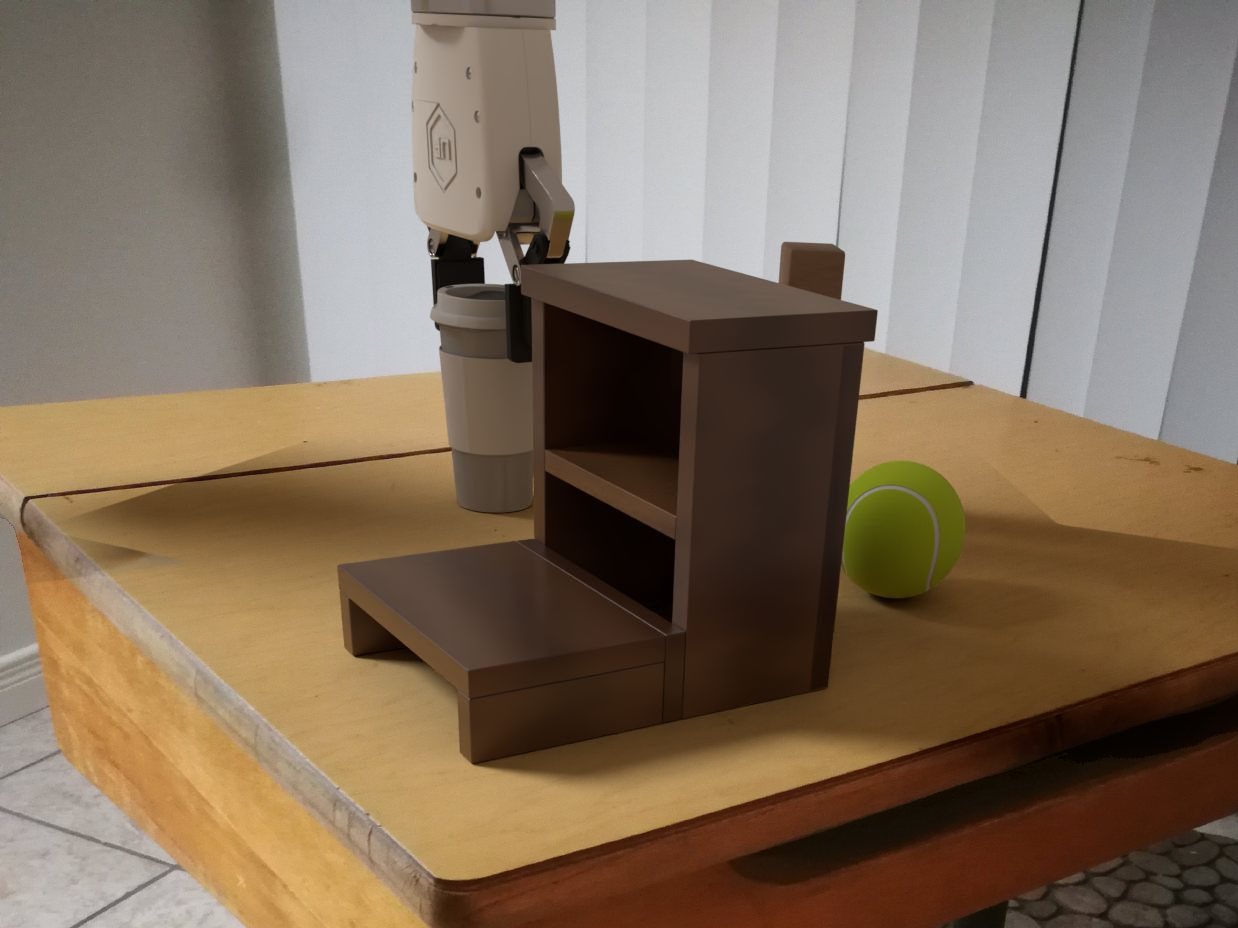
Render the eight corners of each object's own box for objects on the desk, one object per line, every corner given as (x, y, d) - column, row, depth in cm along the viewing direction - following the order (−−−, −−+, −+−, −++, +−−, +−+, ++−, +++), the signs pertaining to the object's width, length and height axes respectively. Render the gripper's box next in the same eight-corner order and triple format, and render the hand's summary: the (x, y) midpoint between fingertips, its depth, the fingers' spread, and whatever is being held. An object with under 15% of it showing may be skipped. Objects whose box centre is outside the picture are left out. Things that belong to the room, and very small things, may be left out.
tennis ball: (842, 566, 81) (855, 440, 78) (964, 585, 80) (984, 456, 76) (812, 604, 76) (825, 470, 72) (942, 625, 74) (963, 488, 70)
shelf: (471, 764, 57) (455, 333, 49) (343, 648, 67) (311, 271, 58) (837, 686, 66) (878, 310, 58) (677, 593, 76) (692, 259, 67)
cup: (478, 480, 92) (471, 278, 86) (569, 497, 90) (569, 291, 84) (416, 507, 87) (404, 292, 80) (512, 525, 85) (508, 306, 78)
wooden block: (821, 511, 90) (846, 251, 82) (770, 510, 90) (790, 248, 82) (802, 483, 96) (824, 236, 88) (754, 482, 96) (771, 234, 87)
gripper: (352, -9, 79) (379, 324, 88) (490, -7, 67) (504, 379, 76) (477, -3, 82) (490, 316, 91) (629, 0, 70) (626, 368, 79)
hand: (496, 345), depth 84 cm, fingers open, 9 cm apart
